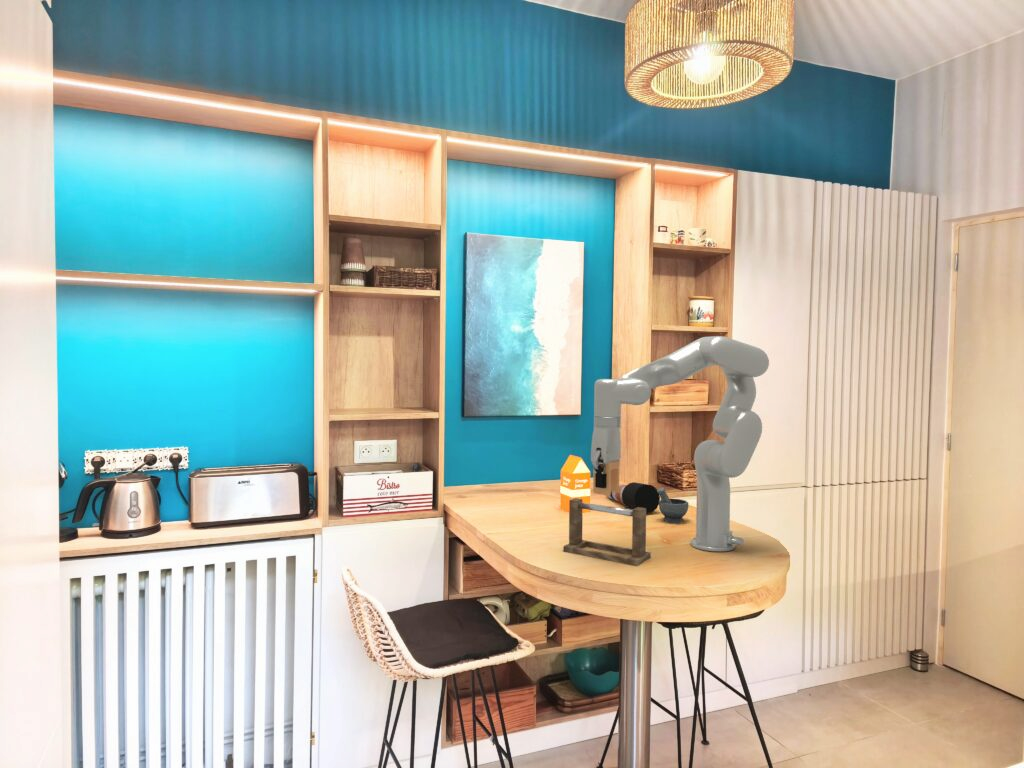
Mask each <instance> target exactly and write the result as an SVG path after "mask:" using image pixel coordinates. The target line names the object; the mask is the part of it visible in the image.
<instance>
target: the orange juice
mask: <svg viewBox="0 0 1024 768" xmlns="http://www.w3.org/2000/svg"><path fill="white" fill-rule="evenodd" d="M559 492H560V510H562V511H565V512H567V513H569V500H571V499H574V498H579V499H583V503H589V504H591V470H590V469H589V468H588V466H587V465H586V463H585V462H584V460H583V458H582V457H580V456H576V455H572V454H569V456H568V457H567V459H566V460H565V463H564V464H563V466H562V468H561V469H560V491H559ZM590 512H591V510H587V509H582V514H583V513H584V514H585V513H590Z"/></svg>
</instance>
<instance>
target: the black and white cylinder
mask: <svg viewBox="0 0 1024 768" xmlns="http://www.w3.org/2000/svg"><path fill="white" fill-rule="evenodd" d="M657 490H658V489H657V488H656V487H655V486H654V485H651V484H646V483H641V482H635V481H633V482H630V483H628V484H619V492H618V493H617V492H611V495H606V496H607V498H609V499H611V500H613V501H614V500H615V501H616V502H619V503H621V504H623V505H624V506H625V507H626V509H630V510H633V509H635V508H637V507H641V508H646V514H649V513H650V514H651V513H652V512H655V510H656V509H658V508H659V500H661V497H660V495H659V494H658V492H657Z"/></svg>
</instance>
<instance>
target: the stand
mask: <svg viewBox="0 0 1024 768" xmlns="http://www.w3.org/2000/svg"><path fill="white" fill-rule="evenodd" d="M579 502H583V499H579V498H574V499H571V500H569V512H568V514H569V515H568V518H569V519H568V544H564V545H563V546H562V547H563V548H562V549H563V550H562V551H563V552H565V553H569V554H570V553H571V554H574V555H581V556H584V557H585V556H586V557H590V558H596V559H600V560H606V561H611V562H616V563H620V564H626V565H630V566H634V567H638V566H640V565H641V564H643V563H644V562H646V561H647V560H649V559H651V553H652V552H649V551H646V549H647V548H646V547H647V545H646V543H647V539H646V538H647V513H646V508H641V507H637V508H635V509H633V517H632V523H631V524H632V533H631V535H632V538H631V542H632V543H631V545H632V546H631V548H630V547H629V548H628V547H624V546H617V545H611V544H608V543H601V542H596V541H591V540H584V539H583V513H582V509H581V508H578V503H579ZM585 548H590V549H585ZM591 548H593V549H596V550H602V551H608V552H612V553H616V554H617V553H618V554H622V555H628V556H629V557H628V556H627V557H626V556H622V555H618V554H617V555H616V554H612V553H608V552H607V553H606V552H602V551H596V550H591Z"/></svg>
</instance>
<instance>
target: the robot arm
mask: <svg viewBox="0 0 1024 768" xmlns="http://www.w3.org/2000/svg"><path fill="white" fill-rule="evenodd" d="M713 366H715V367H716V366H718V367H721V370H722V372H723V374H724V375H725V376H724V377H725V378H726V391H725V394H724V397H723V399H722V401H721V403H720V405H719V408H718V410H717V412H716V414H715V416H714V419H713V422H712V430H713V432H714V434H716V436H718V437H719V438H723V439H725V440H724V441H720V440H716V439H708V440H704V441H701V442H700V443H699V444H698V445H697V446H696V448H695V451H694V455H693V458H694V459H693V460H694V467H695V473H696V474H695V475H696V515H695V516H696V519H695V520H696V523H695V524H696V526H695V528H696V529H695V537H693V538H691V539H690V545H691V546H692V547H694V548H695V549H698V550H702V551H707V552H715V553H716V552H718V553H719V552H720V553H721V552H730V551H732V550H734V549H735V547H736V546H739V547H740V546H742V547H743V546H744V545H745V543H744V542H745V539H744V538H742V537H738V536H734V535H733V531H731V530H730V527H731V526H730V521H731V515H730V514H731V513H730V512H731V483H730V479H733V478H737V477H739V476H741V475H742V474H743V473H744V472H745V471H746V469H747V468H748V466H749V464H750V462H751V459H752V457H753V455H754V454H755V453H754V452H755V450H756V449H757V446H758V444H759V443H760V439H761V437H762V433H763V421H762V419H761V417H760V416H759V414H757V413H756V412H755V411H752V409H753V407H754V403H755V401H756V396H757V386H756V383H755V379H754V378H758V377H760V376H762V375H764V374H765V373H766V372H767V371H768V369H769V366H770V359H769V356H768V354H767V353H766V352H765V350H763V349H761V348H760V347H757V346H754V345H752V344H748V343H745V342H742V341H739V340H737V339H736V340H735V339H733V338H731V337H727V336H723V335H722V336H721V335H716V336H715V335H713V336H703V337H700V338H698V339H696V340H694V341H692V342H690V343H688V344H687V345H684V346H683V347H681V348H679V349H677V350H675V351H674V352H671V353H669V354H668V355H665V356H663V357H661V358H658V359H656V360H654V361H652V362H648V364H644V365H642V366H640V367H637V368H635V369H633V370H631V371H629V372H627V373H626V374H624V375H622V376H620V377H618V378H617V379H614V378H600V379H597V380H596V381H595V382H594V392H593V393H594V394H593V395H594V397H593V398H594V399H593V400H594V401H593V402H594V403H593V407H594V409H593V413H594V414H593V431H592V437H591V446H590V447H591V449H590V461H591V464H592V466H593V470H594V469H595V487H598V488H606V478H607V474H605V471H606V464H607V463H610V462H614V461H621V456H622V454H621V453H622V452H621V451H622V450H621V449H622V448H621V444H622V443H621V442H622V441H621V430H620V429H621V428H622V423H621V422H622V421H621V420H622V404H623V405H632V406H641V405H643V404H645V403H647V402H648V401H649V400H650V398H651V395H652V390H653V389H655V388H658V387H663V386H671V385H675V384H678V383H680V382H681V383H682V382H683V381H685V380H686V379H688V378H690V377H692V376H694V375H696V374H698V373H700V372H701V371H703V370H705V369H706V368H708V367H713ZM600 461H603V462H600ZM601 465H603V468H602V467H601ZM735 545H736V546H735Z"/></svg>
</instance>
